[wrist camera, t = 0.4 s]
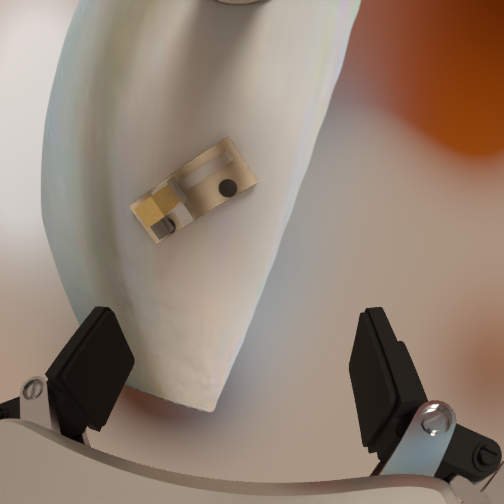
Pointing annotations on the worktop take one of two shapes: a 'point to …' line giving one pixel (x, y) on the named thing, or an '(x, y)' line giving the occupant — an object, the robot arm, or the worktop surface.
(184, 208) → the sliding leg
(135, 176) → the worktop surface
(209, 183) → the board
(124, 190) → the worktop surface
